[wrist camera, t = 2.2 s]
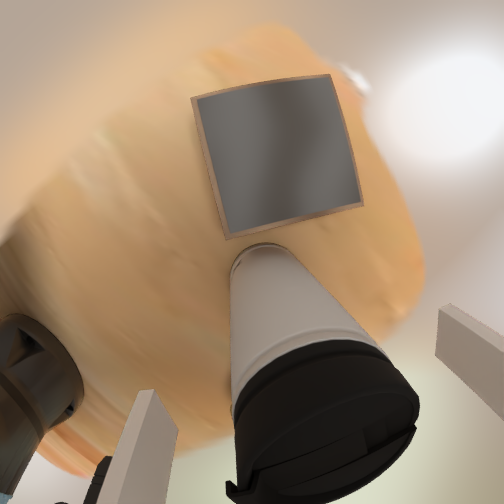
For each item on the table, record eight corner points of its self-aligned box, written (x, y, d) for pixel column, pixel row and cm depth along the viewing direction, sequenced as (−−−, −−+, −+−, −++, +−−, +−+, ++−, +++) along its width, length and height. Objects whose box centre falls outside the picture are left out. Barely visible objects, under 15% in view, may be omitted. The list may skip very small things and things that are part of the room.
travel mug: (215, 260, 24) (178, 463, 5) (285, 231, 24) (445, 357, 5) (242, 320, 26) (268, 530, 6) (308, 293, 26) (431, 465, 6)
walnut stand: (227, 229, 24) (225, 241, 18) (198, 118, 22) (189, 95, 16) (336, 202, 24) (366, 206, 18) (309, 96, 22) (331, 72, 16)
